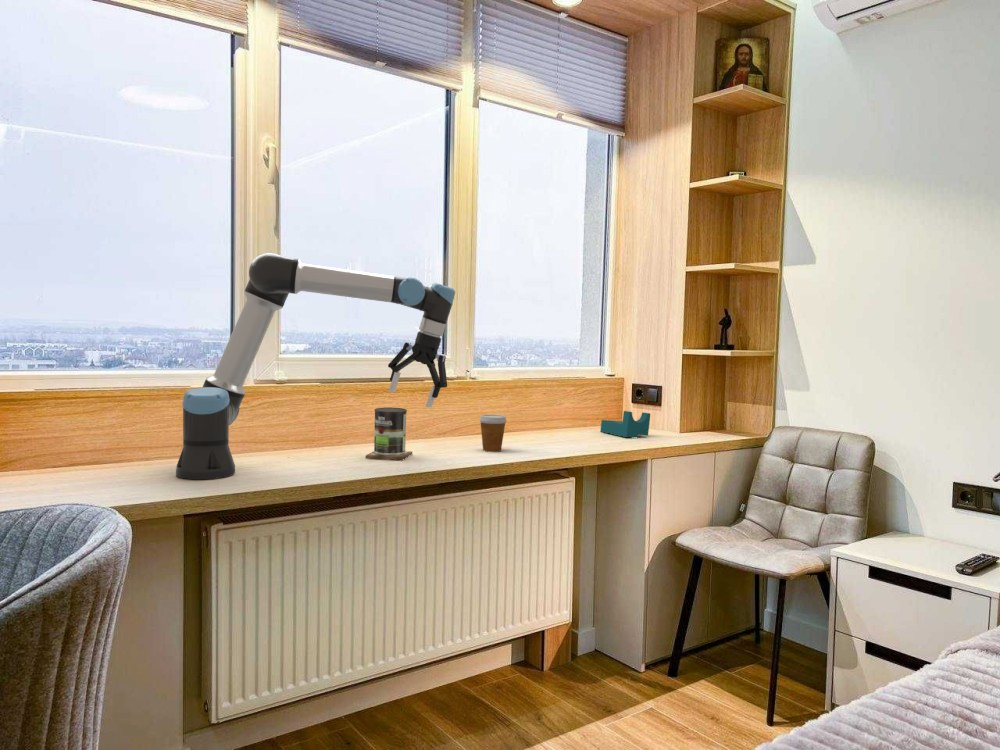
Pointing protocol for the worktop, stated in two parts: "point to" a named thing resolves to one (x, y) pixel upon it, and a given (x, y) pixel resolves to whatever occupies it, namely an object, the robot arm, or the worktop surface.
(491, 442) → the disposable coffee cup
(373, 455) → the trivet
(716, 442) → the worktop surface
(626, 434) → the teal l-shaped bracket
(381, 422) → the coffee can
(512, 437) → the worktop surface
